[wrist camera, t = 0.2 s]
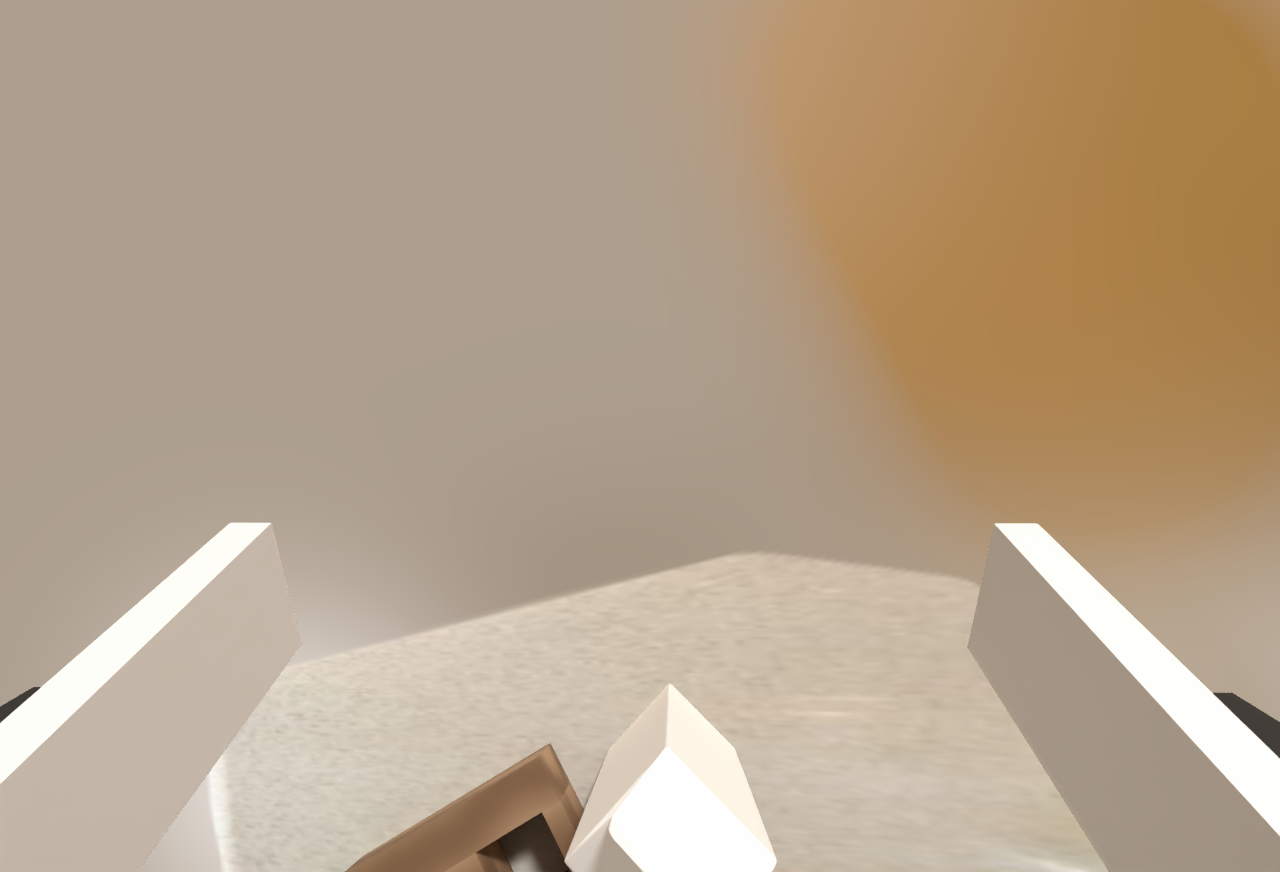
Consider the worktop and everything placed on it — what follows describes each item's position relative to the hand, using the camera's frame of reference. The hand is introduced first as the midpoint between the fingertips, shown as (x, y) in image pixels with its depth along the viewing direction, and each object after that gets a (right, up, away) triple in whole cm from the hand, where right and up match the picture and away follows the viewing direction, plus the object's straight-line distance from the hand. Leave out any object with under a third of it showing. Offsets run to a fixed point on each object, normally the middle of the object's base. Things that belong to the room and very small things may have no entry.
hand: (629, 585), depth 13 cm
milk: (+2, -18, +32) cm, 37 cm away
